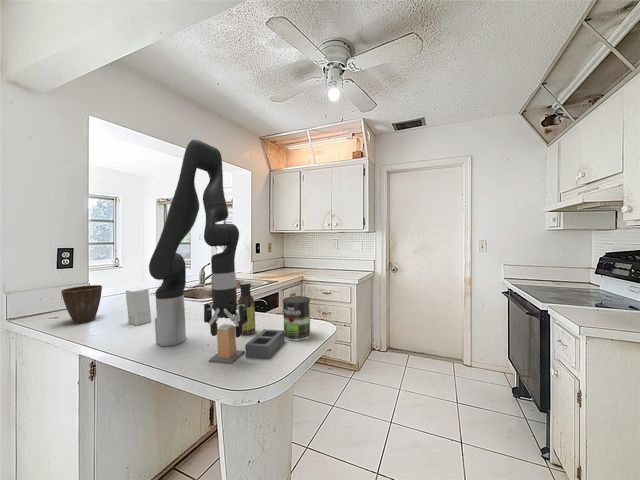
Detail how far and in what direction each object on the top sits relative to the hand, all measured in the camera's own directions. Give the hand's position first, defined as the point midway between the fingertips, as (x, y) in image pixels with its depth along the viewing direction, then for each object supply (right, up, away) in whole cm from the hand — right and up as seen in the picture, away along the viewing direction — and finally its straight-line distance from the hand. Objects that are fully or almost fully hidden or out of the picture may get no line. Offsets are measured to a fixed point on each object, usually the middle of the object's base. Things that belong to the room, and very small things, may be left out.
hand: (226, 335), depth 90 cm
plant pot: (-83, -8, +44) cm, 94 cm away
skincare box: (-53, -7, +39) cm, 66 cm away
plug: (0, -6, 0) cm, 6 cm away
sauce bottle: (+1, -6, +22) cm, 23 cm away
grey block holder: (+12, -6, +6) cm, 15 cm away
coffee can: (+22, -6, +17) cm, 28 cm away
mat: (0, -7, 0) cm, 7 cm away
